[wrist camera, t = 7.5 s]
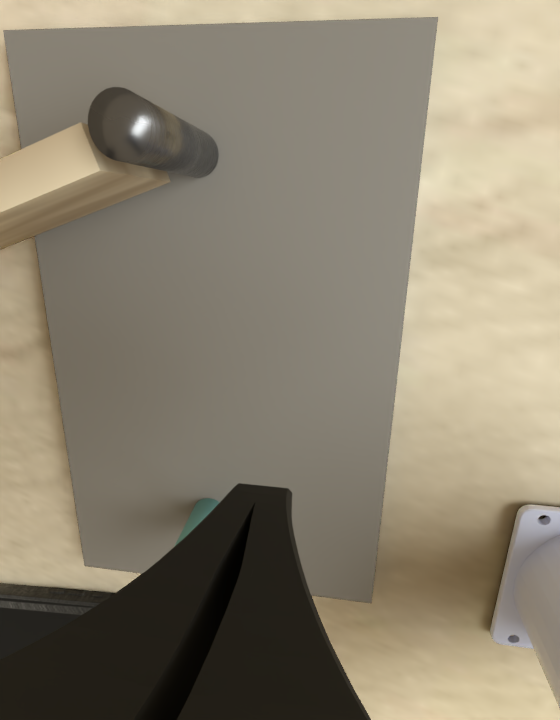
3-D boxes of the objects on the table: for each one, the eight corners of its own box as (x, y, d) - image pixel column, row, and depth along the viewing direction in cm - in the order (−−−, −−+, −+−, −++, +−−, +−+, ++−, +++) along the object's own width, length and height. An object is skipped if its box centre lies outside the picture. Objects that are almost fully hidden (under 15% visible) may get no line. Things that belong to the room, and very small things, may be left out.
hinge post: (225, 134, 17) (148, 86, 10) (226, 180, 17) (153, 161, 11) (184, 134, 17) (83, 87, 10) (186, 179, 18) (91, 161, 11)
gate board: (432, 29, 15) (438, 16, 14) (370, 587, 23) (371, 603, 22) (22, 40, 17) (3, 30, 16) (94, 552, 25) (84, 566, 24)
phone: (150, 705, 27) (-68, 679, 29) (157, 686, 28) (-53, 662, 30) (131, 604, 24) (-105, 583, 27) (140, 588, 25) (-88, 569, 28)
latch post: (231, 487, 22) (182, 606, 15) (231, 514, 22) (184, 640, 16) (199, 484, 22) (138, 600, 16) (200, 511, 23) (142, 634, 16)
